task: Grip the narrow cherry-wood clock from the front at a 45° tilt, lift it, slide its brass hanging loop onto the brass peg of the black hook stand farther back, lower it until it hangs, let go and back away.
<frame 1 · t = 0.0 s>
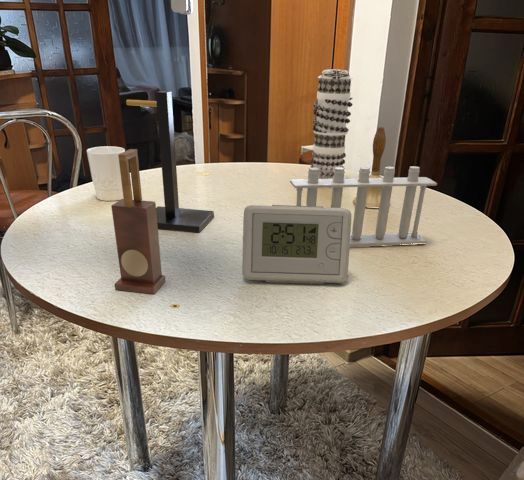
hand: (182, 13, 63), 34 cm above the table, tool pointing down, fingers open, 8 cm apart
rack: (173, 221, 101), on the table
hand bell: (371, 204, 115), on the table
test tube rack: (355, 244, 93), on the table
clock: (142, 283, 76), on the table
white cup: (112, 197, 114), on the table
white patterned cylinder: (326, 182, 130), on the table
digital clock: (293, 278, 79), on the table
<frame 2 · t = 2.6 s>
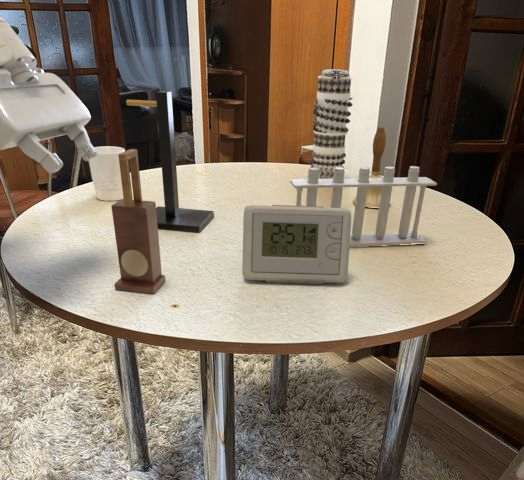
hand: (75, 163, 68), 17 cm above the table, tool tilted 40°, fingers open, 8 cm apart
nothing on the table moved.
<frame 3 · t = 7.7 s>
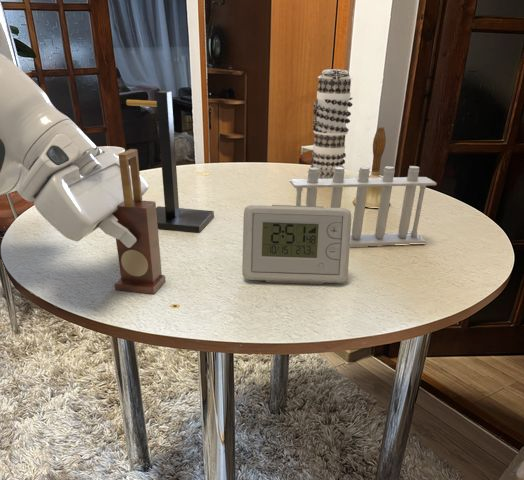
hand: (141, 237, 72), 7 cm above the table, tool tilted 45°, fingers closed on clock, 3 cm apart
clock: (142, 283, 76), on the table, touching gripper
everything else where it was.
when the fingers open (11 cm above the table, at t = 23.3 s): clock stays where it is, resting on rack.
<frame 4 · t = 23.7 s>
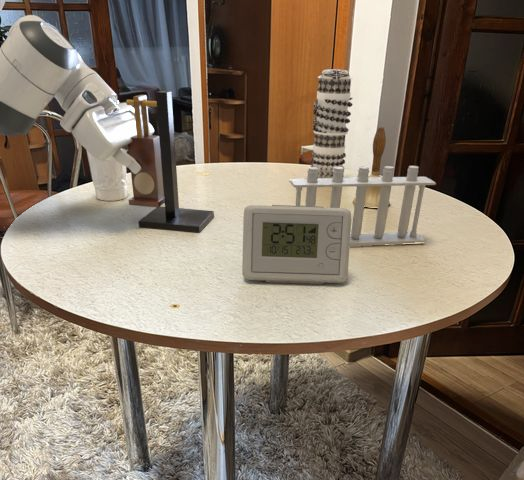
hand: (149, 165, 96), 10 cm above the table, tool tilted 45°, fingers open, 8 cm apart
clock: (149, 202, 100), point 3 cm above the table, touching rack
everything else where it was.
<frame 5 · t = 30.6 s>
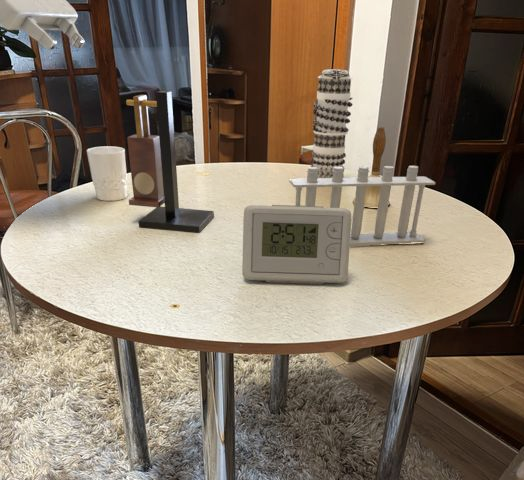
hand: (67, 45, 88), 29 cm above the table, tool tilted 45°, fingers open, 8 cm apart
nothing on the table moved.
at the end: clock 0.3 cm from the target spot on the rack, point 3.4 cm above the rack's base; clock tilted 0°; the gripper is holding nothing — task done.
